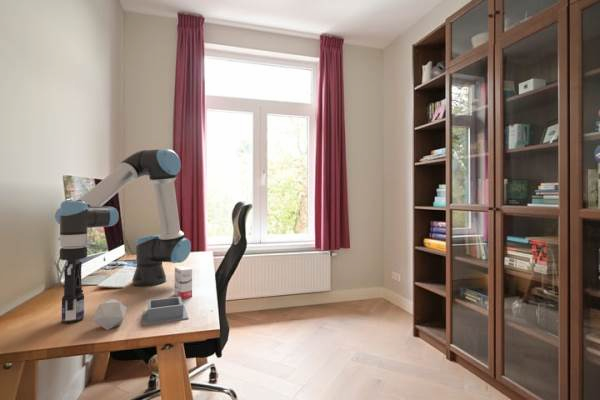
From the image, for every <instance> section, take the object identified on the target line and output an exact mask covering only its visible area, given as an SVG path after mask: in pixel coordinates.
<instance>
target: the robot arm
mask: <svg viewBox="0 0 600 400" xmlns="http://www.w3.org/2000/svg"><path fill="white" fill-rule="evenodd" d="M181 163H182V162H181V160H180V157H179V155H178V154H177V153H176V152H175V151H174V150H172V149H169V148H167V149H165V148H159V149H144V150H140V151H139V150H138V151H136V152H134V153H133V154H131V155H129V156H128V157H126V158H125V159H123V160H122V161H121V162H119V163H118V164H117V168H116V169H115V170H113V171H112V172H111V173H110V174H108V175H107V176H106V177H104V178H103V179H102V180H101V181H100V182H98V183H97V184H95V186H93V187H92V188H91V189H90V190H89V191H87V192H85V193H84V194H83V195H81V196H80V198H78V199H76V200H63V201H62V202H61V203H60V206H59V208H58V209H57V210H56V211H55V213H54V214H55V215H54V219H55V221H56V223H58V224H59V237H57V240H58V241H59V246H60V249H59V260H60V261H67V263H66V264H65V266H64V270H63V272H64V286H63V288H64V289H63V296H64V299H62V298H61V301H62V300H63V301H66V308H65V321H67V320H74V319H76V299H75V298H76V297H75V293H76V286H82V266H83V262H82V261H81V260H84V259H86V258H87V257H88V247H87V245H88V229H92V228H108V227H112V226H115V225H116V224H118V221H119V220H120V219H119V218H120V216H119V211H118V210H117V208H115V207H114V206H108V205H107V206H106V205H105V204H106V203H107V202H109V200H111V199H112V198H113V197H114V196H115V195H116V194H118V193H119V192H120V191H121V190H122V189H124V188H125V186H127V185H128V184H129V183H131V182H134V181H136V180H137V179H138V178H140V177H144V176H148V177H149V181H151V182H152V183H153V185H154V192H155V198H156V206H157V213H158V214H157V215H158V219H159V227H160V234H156V235H149V236H141V237H138V238H137V239H136V245H135V247H136V248H135V250H136V253H135V254H136V258H135V261H136V264H135V265H136V267H135V270H134V274H133V277H132V279H131V280H132V282H131V283H132V285H133V286H137V287H138V286H139V287H148V286H156V285H160V284H163V283H165V282H166V281H167V275H166V272H165V269H164V267H163V263H169V264H171V263H172V264H176V263H177V264H181V263H183V262H185V261H186V260H187V259H188V258H189V255H190V254H191V249H192V243H191V240H189V238H186V237H185V232H184V231H182V230H181V227H180V218H179V217H180V216H179V210H178V203H177V195H176V186H175V181H176V179H177V178H178V176H177V174H179V173H180V171H181V169H182V164H181ZM81 293H83V294H84V289H82V291H81ZM69 295H71V296H69Z"/></svg>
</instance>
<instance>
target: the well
mask: <svg viewBox="0 0 600 400" xmlns="http://www.w3.org/2000/svg"><path fill="white" fill-rule="evenodd" d="M182 299H183V298H182ZM182 299H181V297H178V296H175V297H174V296H173V297H163V298H156V299H148V300H147V310H142V320H141V323H142V324H141V326H149V325H156V324H157V325H158V324H163V323H164V324H165V323H170V322H176V321H177V322H178V321H185V320H189V316H188V312H187V309H186V306H185V305H184V303H183V300H182Z"/></svg>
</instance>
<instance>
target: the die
mask: <svg viewBox="0 0 600 400" xmlns="http://www.w3.org/2000/svg"><path fill="white" fill-rule="evenodd" d="M127 309H128V307H127V306H126V305H124V304H122V303H121V302H119V301H118V300H116V299H115V298H111V299H108V300H106V301H103V302H101V303H99V304H98V307H97V309H96V312H95V314H94V316H93V319H92V322H93V323H95V324H97V325H98V326H100V327H102V328H103V329H105V330H106V331H109V330H111V329H113V328H116V327H117V326H120V325H121V324H122V322H123V320H124V318H125V315H126V313H127Z"/></svg>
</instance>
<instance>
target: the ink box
mask: <svg viewBox="0 0 600 400" xmlns="http://www.w3.org/2000/svg"><path fill="white" fill-rule="evenodd" d="M173 294H174V295H175V297H181V299H188V298H191V297H193V268H190V267H187V266H185V265H184V266H182V265H181V266H175V267H174V292H173Z"/></svg>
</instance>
